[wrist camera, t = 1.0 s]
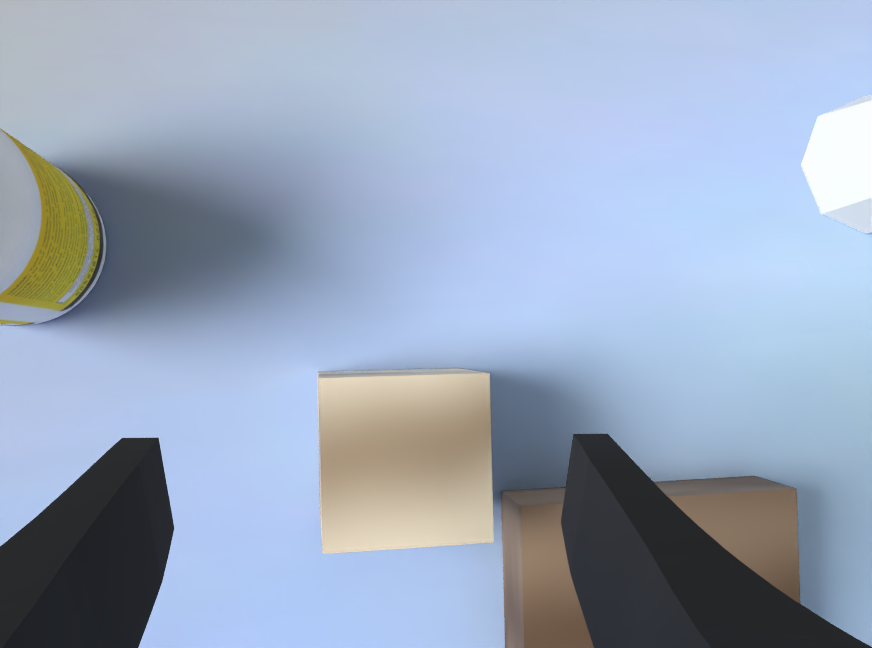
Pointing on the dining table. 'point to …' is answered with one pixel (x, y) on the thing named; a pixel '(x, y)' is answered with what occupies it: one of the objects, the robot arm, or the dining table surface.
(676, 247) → the dining table surface
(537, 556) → the walnut block
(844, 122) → the salt shaker
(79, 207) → the supplement bottle
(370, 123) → the dining table surface
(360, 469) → the maple block
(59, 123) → the dining table surface
